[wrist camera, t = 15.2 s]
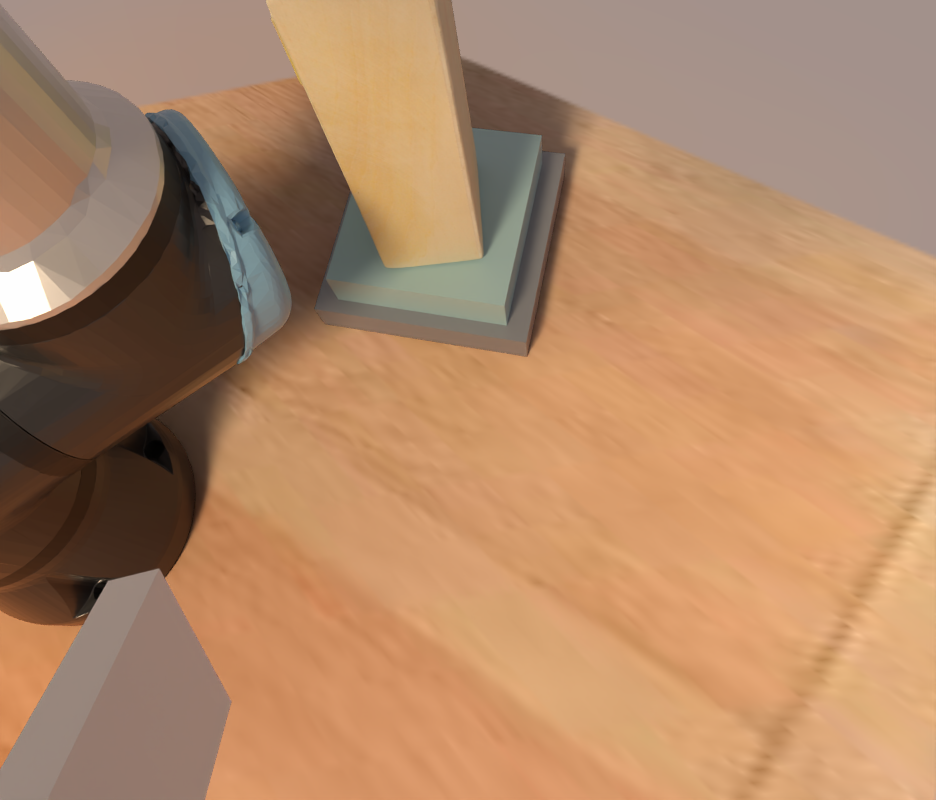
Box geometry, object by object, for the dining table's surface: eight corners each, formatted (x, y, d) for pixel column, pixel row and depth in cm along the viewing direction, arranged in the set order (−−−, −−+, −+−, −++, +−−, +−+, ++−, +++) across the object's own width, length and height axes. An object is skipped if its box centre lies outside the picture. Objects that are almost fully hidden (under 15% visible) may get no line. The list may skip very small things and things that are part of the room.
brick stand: (324, 324, 52) (300, 289, 47) (375, 152, 57) (358, 103, 51) (527, 356, 50) (524, 323, 45) (564, 174, 54) (566, 125, 49)
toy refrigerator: (371, 169, 49) (253, -145, 30) (477, 157, 49) (429, -171, 29) (373, 272, 47) (245, 3, 27) (484, 260, 46) (437, -23, 26)
